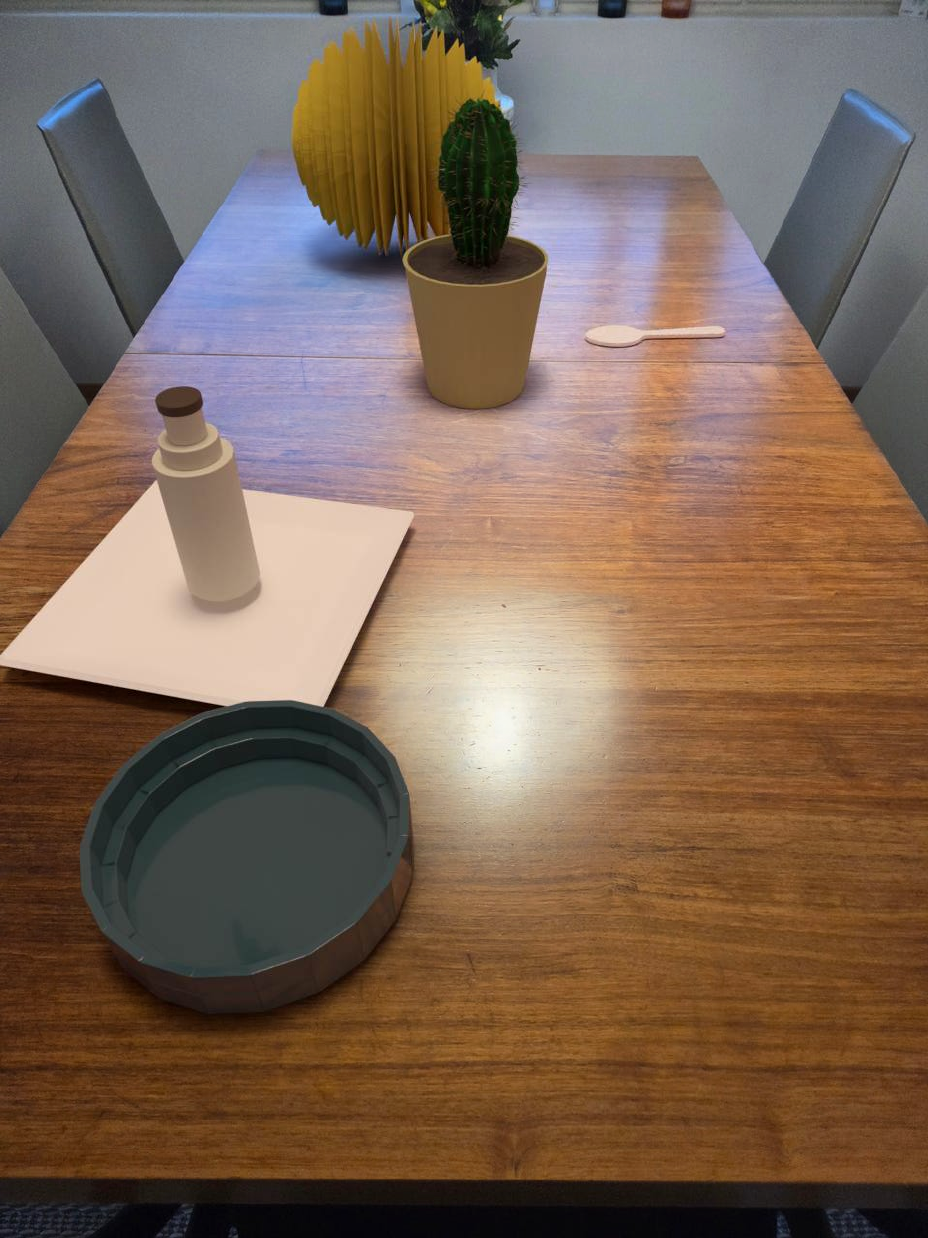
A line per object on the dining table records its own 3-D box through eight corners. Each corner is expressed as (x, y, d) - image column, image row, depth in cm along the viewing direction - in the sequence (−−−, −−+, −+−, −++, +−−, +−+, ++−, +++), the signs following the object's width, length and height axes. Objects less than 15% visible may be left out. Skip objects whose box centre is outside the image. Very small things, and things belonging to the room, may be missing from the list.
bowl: (114, 1069, 47) (86, 1030, 43) (97, 792, 60) (74, 745, 57) (454, 951, 51) (453, 907, 48) (368, 718, 65) (362, 671, 61)
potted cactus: (397, 364, 106) (379, 80, 86) (517, 348, 109) (527, 70, 89) (426, 427, 95) (414, 118, 75) (559, 407, 98) (582, 105, 78)
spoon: (730, 341, 110) (731, 337, 110) (589, 347, 109) (589, 343, 109) (718, 323, 114) (718, 319, 114) (581, 329, 113) (581, 325, 113)
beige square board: (319, 738, 63) (315, 719, 62) (1, 680, 68) (-9, 661, 66) (416, 528, 82) (415, 509, 81) (162, 493, 87) (157, 475, 85)
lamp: (510, 288, 124) (517, 34, 103) (297, 293, 123) (262, 38, 102) (496, 217, 146) (499, -4, 125) (315, 221, 145) (289, -1, 125)
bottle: (192, 608, 71) (138, 424, 59) (183, 565, 75) (131, 384, 63) (266, 591, 72) (227, 408, 61) (253, 549, 76) (214, 370, 65)
